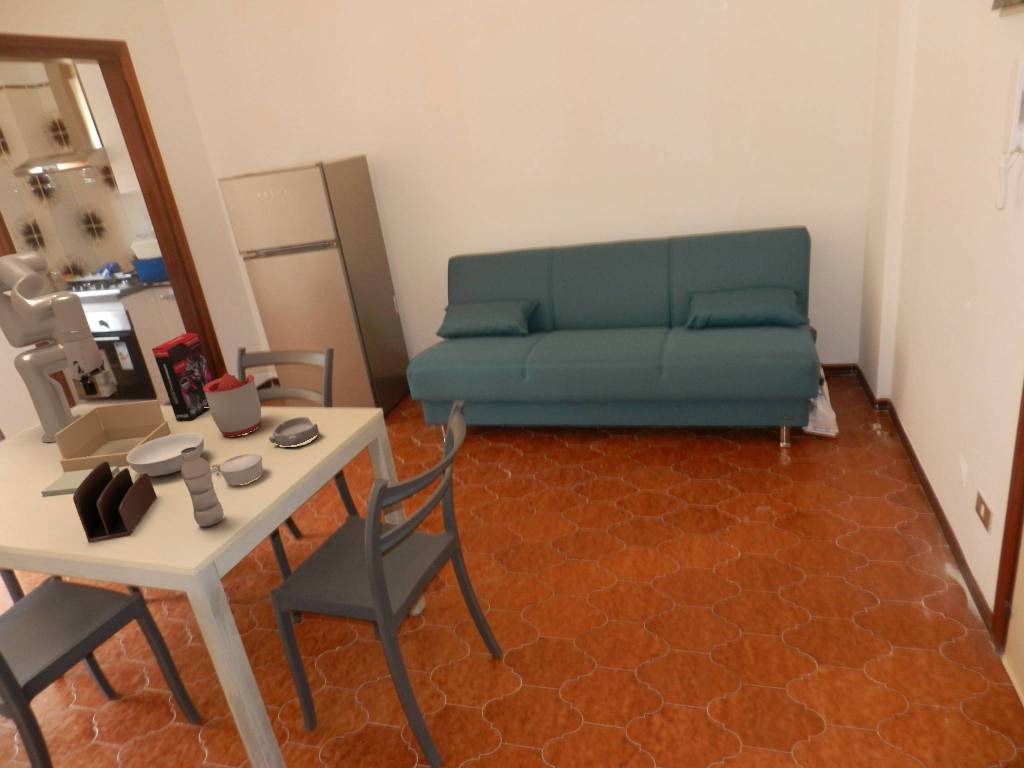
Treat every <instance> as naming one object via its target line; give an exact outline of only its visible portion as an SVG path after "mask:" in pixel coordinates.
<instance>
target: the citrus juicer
mask: <svg viewBox="0 0 1024 768" xmlns="http://www.w3.org/2000/svg"><path fill="white" fill-rule="evenodd" d="M203 390H204V391H205V394H206V398H207V401H208V405H209V411H210V415H211V417H212V419H213V421H214V424H215V425H216V426H217V429H218V430H219V432H220V433H221V434H222V435H223V436H224V437H226V436H228V437H227V438H231V437H230V436H237V437H239V436H238V435H242V434H245V433H248V432H250V431H253V430H254V429H256V428H257V427H259V426H260V427H261V425H262V424H261V423H262V407H261V402H260V398H259V394H258V391H257V386H256V382H255V376H254V375H253V374H248V375H247V376H246V377H245V380H239V379H238V378H237V377H236V375H235V374H233V375H232V374H230V373H227V372H226V373H224V374H223V376H222V377H219V378H216V379H214V380H212V381H211V382H209V383H208V384H206V385H205V386H204V387H203ZM260 427H259V428H260ZM253 432H254V431H253Z"/></svg>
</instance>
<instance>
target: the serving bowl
mask: <svg viewBox="0 0 1024 768" xmlns="http://www.w3.org/2000/svg"><path fill="white" fill-rule="evenodd" d="M189 447H197V448H198V451H199V453H200V456H199V457H201V455H202V454H203V451H204V447H205V443H204V437H203V435H202V434H199V433H196V432H181V433H180V432H179V433H174V434H170V435H169V434H168V435H167V436H165V437H161V438H158V439H155V440H152V441H149V442H147V443H145V444H143V445H141V446H139V447H137V448H135V449H134V450H132V449H131V450H132V451H131V450H130V451H131V452H130V451H129V452H130V453H129V454H128V455H127V458H126V460H127V462H128V464H129V467H130V469H131V470H133V471H134V472H136V473H138V474H139V475H141V476H142V475H143V474H144V473H147V474H148V475H149V477H158V476H164V475H171V474H174V473H176V471H177V472H179V471H181V468H182V465H183V463H184V460H183V459H182V455H181V451H182V450H184V449H186V448H189ZM173 472H174V473H173ZM170 473H171V474H170Z"/></svg>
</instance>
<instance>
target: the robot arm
mask: <svg viewBox="0 0 1024 768" xmlns="http://www.w3.org/2000/svg"><path fill="white" fill-rule="evenodd" d="M48 271H49V266H48V263H47V260H46V258H45V257H44V256H43V255H42V254H40V253H39V252H37V251H34V250H27V251H22V252H17V253H12V254H6V255H1V256H0V330H1V332H2V333H3V335H4V337H5V339H6V341H7V342H8V343H9V345H11V347H12V348H16V349H20V348H21V349H22V348H27V347H29V346H34V345H37V344H41V343H44V342H47V343H48V344H45V345H42V346H38V347H34V348H31V349H27V350H24V351H22V352H21V353H19V354H18V355H16V356H15V358H14V361H13V365H14V367H15V370H16V371H17V373H18V374H19V376H20V378H21V380H22V381H23V384H24V385H25V386H26V390H27V392H28V395H29V397H30V399H31V402H32V404H33V406H34V409H35V412H36V414H37V417H38V420H39V421H40V425H41V427H42V430H43V432H44V434H43V435H42V436H41V437H40V438H41V441H42V442H43V443H46V442H51V443H57V442H56V439H55V437H54V435H55V434H57V433H58V432H60V431H61V430H63V429H64V428H66V427H67V426H69V425H70V424H71V423H73V422H74V421H76V420H77V419H79V418H80V417H82V415H81V414H76V415H75V416H74V415H73V412H72V411H71V408H70V405H69V402H68V399H67V397H66V394H65V392H64V389H63V386H62V384H61V383H60V382H59V381H57V380H56V379H54V378H52V377H50V376H49V375H51V374H54V373H57V372H60V371H63V370H66V369H68V368H69V371H70V373H71V375H72V376H73V377H72V378H75V379H77V380H78V381H80V383H81V384H82V385H83V388H84V390H85V393H86V395H87V396H88V395H96V394H97V391H96V388H95V385H94V383H93V382H91V376H90V372H94V371H103V370H104V365H105V360H104V359H103V357H102V354H101V352H100V349H99V347H98V344H97V342H96V340H95V339H94V336H93V333H92V330H91V327H90V324H89V321H88V319H87V315H86V314H85V310H84V307H83V304H82V302H81V299H80V296H79V295H78V294H76V293H70V292H69V291H65V290H63V291H62V290H61V291H56V292H52V293H48V294H44V295H40V294H41V292H42V291H43V289H44V287H45V281H44V278H45V277H46V276H47V274H48ZM5 292H7V293H8V292H10V294H7V293H5ZM83 375H86V377H87V378H86V377H84V376H83Z"/></svg>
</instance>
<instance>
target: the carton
mask: <svg viewBox="0 0 1024 768" xmlns="http://www.w3.org/2000/svg"><path fill="white" fill-rule="evenodd" d="M169 434H171V429H170V426H169V423H168V421H166V420H165V417H164V414H163V411H162V408H161V404H160V402H159V399H153V400H145V401H137V402H135V401H134V402H127V403H119V404H110V405H102V406H97V407H95V408H92V409H91V410H89V411H87V412H86V413H85V414H84V415H81V417H80V418H79V419H77V420H76V421H74V422H73V423H71V424H70V425H69V426H67V427H66V428H64V429H63V430H61V431H60V432H58V433H57V434H55V435H54V437H55V439H56V442H55V443H56V445H57V447H58V449H59V452H60V455H61V457H62V459H61V460H59V463H60V465H61V467H62V471H63V473H64V472H71V471H80V470H89V469H95V468H96V467H97V466H98V465H100V464H101V463H102V462H105V461H107V462H108V463H109V466H110V467H115V466H118V467H119V468H121V467H128V466H129V464H128V462H127V460H126V458H127V455H128V454H129V453H130V452H131V451H132V450H134V449H135V448H137V447H139V446H141V445H143V444H145V443H147V442H149V441H152V440H155V439H158V438H161V437H165V436H169ZM141 436H142V437H145V438H144V439H142V440H141V441H140V442H139V443H138V444H136V445H135V446H134V447H132V449H130V451H128V452H127V451H125V452H119V453H117V452H116V453H108V454H100V455H92V454H93V453H94V452H96V451H97V450H98V449H99V447H100V448H101V447H102V446H103V445H104V444H107V442H109V441H115V440H124V439H125V438H126V439H133V438H134V439H135V438H140V437H141ZM126 439H125V440H126ZM91 453H92V454H91ZM90 454H91V455H92V456H91V455H90ZM87 456H88V457H87ZM129 467H130V466H129Z"/></svg>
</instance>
